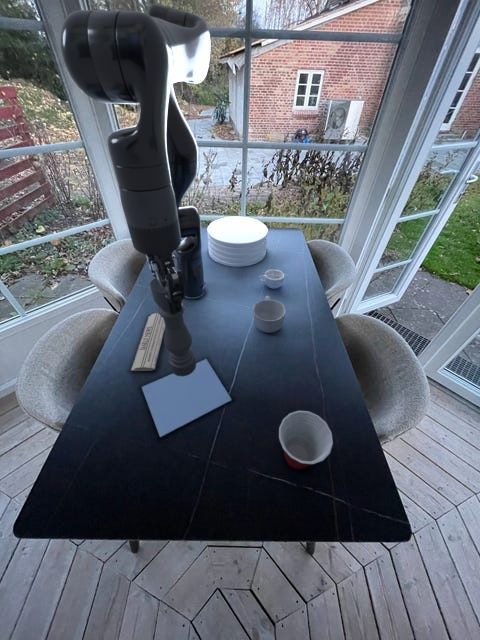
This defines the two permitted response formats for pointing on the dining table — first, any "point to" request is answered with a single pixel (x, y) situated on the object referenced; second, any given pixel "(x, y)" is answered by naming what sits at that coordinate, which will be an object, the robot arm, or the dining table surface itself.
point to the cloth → (184, 397)
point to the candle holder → (174, 334)
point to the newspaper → (150, 344)
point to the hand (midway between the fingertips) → (170, 302)
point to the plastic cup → (304, 439)
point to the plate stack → (237, 241)
